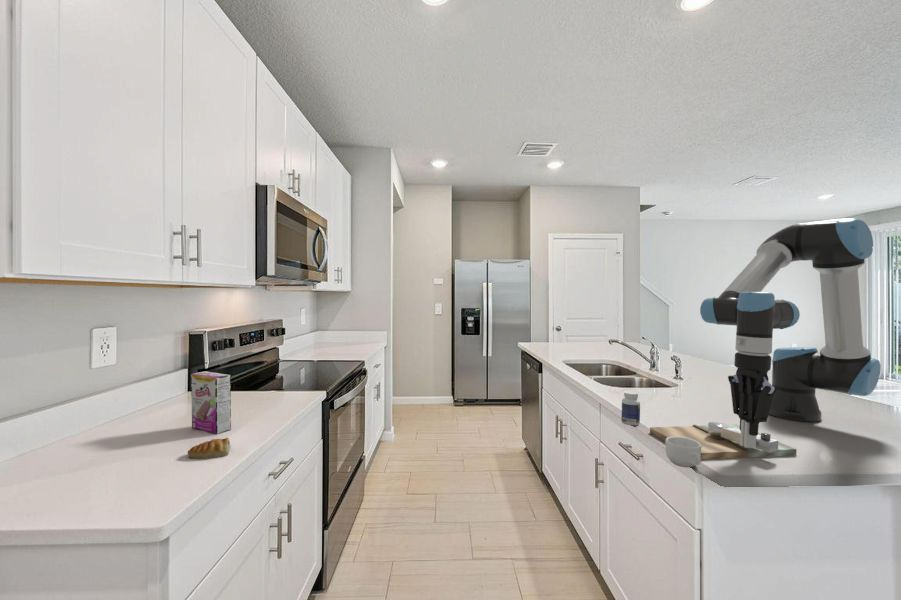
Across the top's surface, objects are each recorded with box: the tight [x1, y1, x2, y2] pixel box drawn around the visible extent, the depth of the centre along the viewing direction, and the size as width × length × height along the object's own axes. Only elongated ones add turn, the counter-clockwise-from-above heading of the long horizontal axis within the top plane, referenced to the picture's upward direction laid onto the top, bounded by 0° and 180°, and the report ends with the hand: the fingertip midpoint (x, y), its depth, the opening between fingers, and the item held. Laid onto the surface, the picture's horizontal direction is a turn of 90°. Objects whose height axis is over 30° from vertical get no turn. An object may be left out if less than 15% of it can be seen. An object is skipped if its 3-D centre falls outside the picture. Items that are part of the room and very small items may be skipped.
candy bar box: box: [190, 370, 232, 435], centre depth 128 cm, size 11×5×16 cm, turn 65°
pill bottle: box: [620, 390, 641, 426], centre depth 138 cm, size 5×5×10 cm
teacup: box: [664, 436, 702, 468], centre depth 106 cm, size 10×8×5 cm
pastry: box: [187, 437, 232, 460], centre depth 110 cm, size 9×7×4 cm
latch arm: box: [707, 421, 779, 453], centre depth 115 cm, size 16×5×4 cm, turn 25°
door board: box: [649, 424, 797, 460], centre depth 121 cm, size 28×20×2 cm
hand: (747, 446), depth 110 cm, fingers closed
